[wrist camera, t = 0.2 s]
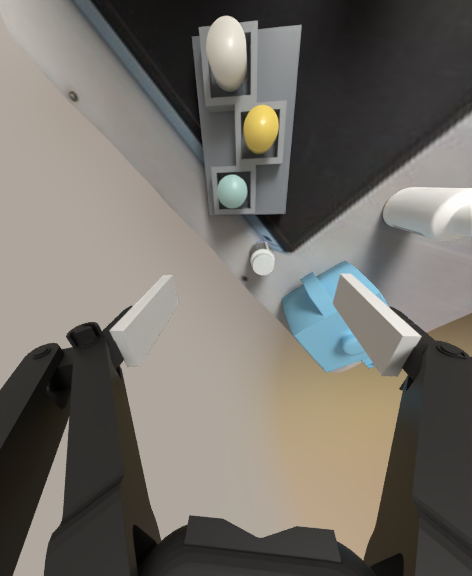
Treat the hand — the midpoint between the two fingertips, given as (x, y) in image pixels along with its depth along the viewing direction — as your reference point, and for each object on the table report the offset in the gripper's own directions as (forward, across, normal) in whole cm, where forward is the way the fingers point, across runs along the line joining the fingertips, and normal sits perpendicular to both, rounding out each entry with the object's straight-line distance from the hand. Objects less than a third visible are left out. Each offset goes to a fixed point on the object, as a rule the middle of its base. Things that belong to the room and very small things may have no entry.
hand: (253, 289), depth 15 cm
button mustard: (+21, +1, +14) cm, 25 cm away
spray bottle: (+27, +28, +2) cm, 39 cm away
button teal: (+21, -3, +7) cm, 22 cm away
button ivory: (+21, -3, +21) cm, 30 cm away
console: (+26, -1, +14) cm, 30 cm away
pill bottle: (+27, +2, -5) cm, 27 cm away
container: (+27, +19, -19) cm, 38 cm away
